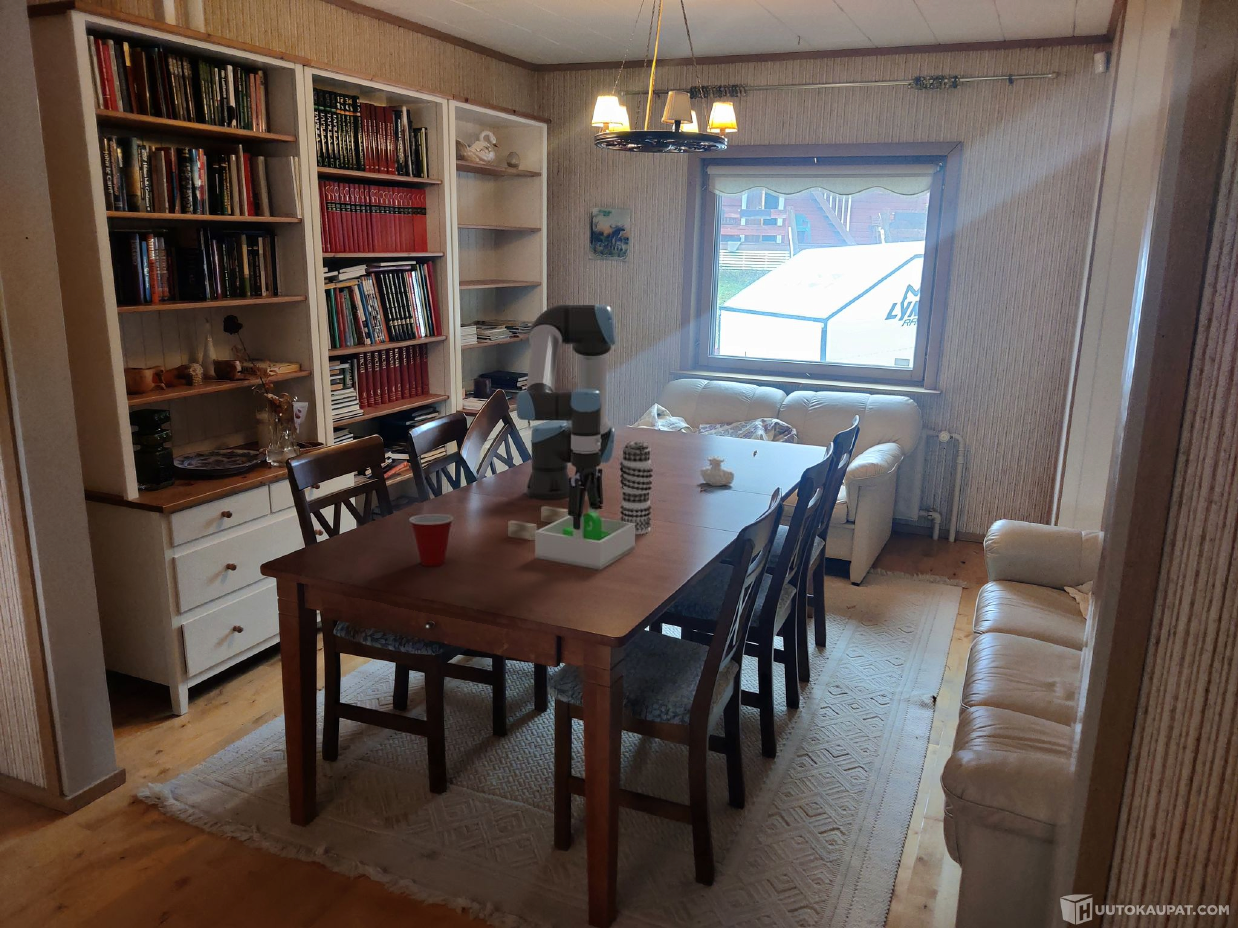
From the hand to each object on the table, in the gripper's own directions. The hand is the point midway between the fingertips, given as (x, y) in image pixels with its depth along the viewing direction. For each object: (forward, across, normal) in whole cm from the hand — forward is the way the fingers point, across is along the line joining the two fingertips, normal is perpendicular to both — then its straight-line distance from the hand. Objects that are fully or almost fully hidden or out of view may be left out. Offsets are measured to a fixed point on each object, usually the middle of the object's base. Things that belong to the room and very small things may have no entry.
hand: (585, 536), depth 234 cm
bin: (+4, 0, 0) cm, 4 cm away
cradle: (+4, +12, +22) cm, 25 cm away
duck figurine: (+5, +85, -3) cm, 85 cm away
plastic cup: (+5, -25, +30) cm, 39 cm away
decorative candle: (+5, +25, -2) cm, 26 cm away
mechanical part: (+1, 0, 0) cm, 1 cm away
